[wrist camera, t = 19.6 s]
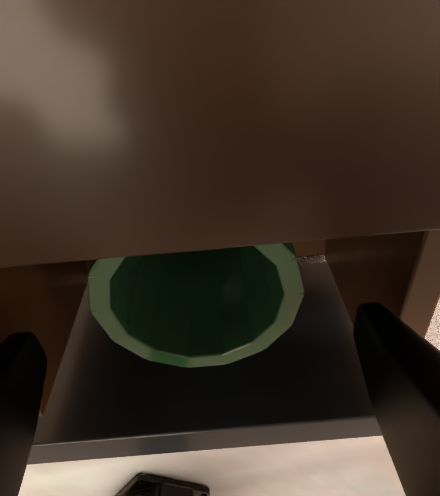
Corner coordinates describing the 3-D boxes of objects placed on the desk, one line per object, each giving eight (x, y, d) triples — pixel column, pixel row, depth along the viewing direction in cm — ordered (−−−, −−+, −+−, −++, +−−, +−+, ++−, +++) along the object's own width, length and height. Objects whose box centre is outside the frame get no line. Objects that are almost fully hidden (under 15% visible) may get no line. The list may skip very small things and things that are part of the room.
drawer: (334, 338, 20) (388, 489, 15) (102, 357, 21) (65, 515, 15) (398, -67, 10) (642, -88, 5) (-56, -24, 11) (-358, 7, 5)
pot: (270, 240, 15) (299, 359, 11) (138, 252, 15) (114, 374, 11) (271, 110, 12) (312, 201, 8) (106, 125, 12) (55, 224, 8)
